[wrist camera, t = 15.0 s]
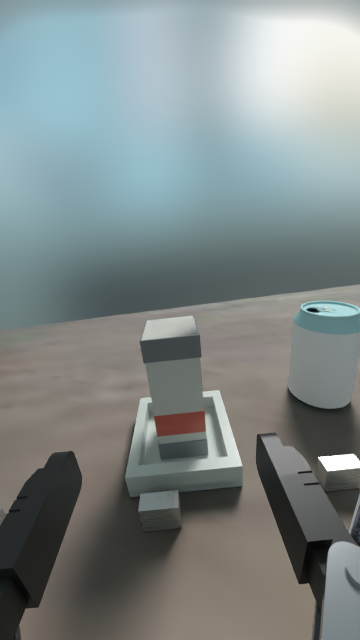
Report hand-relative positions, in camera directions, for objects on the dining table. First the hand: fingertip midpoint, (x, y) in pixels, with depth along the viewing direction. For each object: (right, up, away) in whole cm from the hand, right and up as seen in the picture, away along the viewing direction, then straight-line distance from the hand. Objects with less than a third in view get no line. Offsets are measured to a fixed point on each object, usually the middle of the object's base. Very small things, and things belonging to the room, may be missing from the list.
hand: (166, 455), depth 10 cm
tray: (+1, -7, +15) cm, 17 cm away
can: (+19, -4, +20) cm, 28 cm away
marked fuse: (+1, -7, +14) cm, 16 cm away
